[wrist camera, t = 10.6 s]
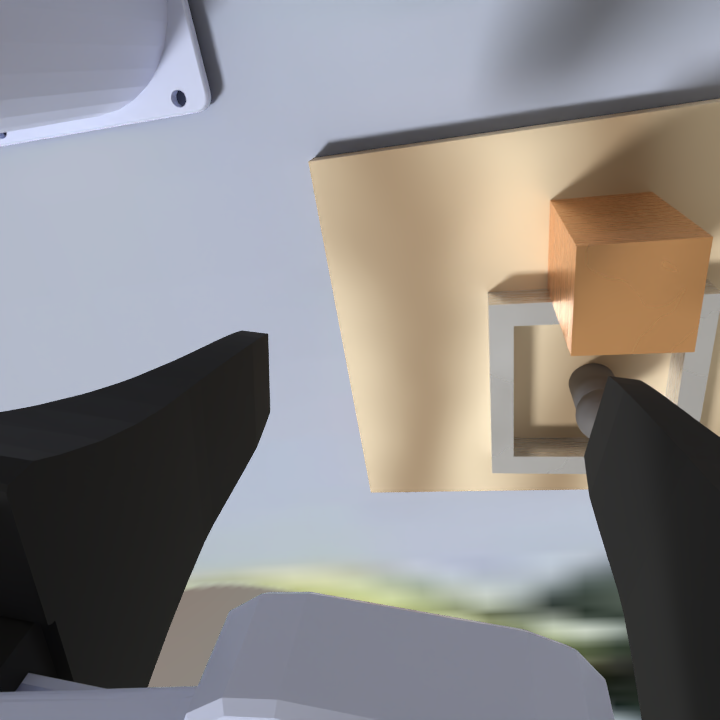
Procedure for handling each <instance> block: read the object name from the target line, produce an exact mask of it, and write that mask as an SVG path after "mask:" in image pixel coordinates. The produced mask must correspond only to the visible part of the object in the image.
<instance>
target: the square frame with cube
mask: <svg viewBox="0 0 720 720" xmlns="http://www.w3.org/2000/svg"><path fill="white" fill-rule="evenodd" d="M712 241H713V236H711V235H710V234H709V233H707V232H706V231H705V230H703V229H702V228H701V227H699V226H698V225H696V224H695V223H694V222H692V221H691V220H690V219H688V218H687V217H686V216H684V215H683V214H682V213H680V212H679V211H678V210H676V209H675V208H673V207H672V206H671V205H669V204H668V203H667V202H665V201H664V200H663V199H661V198H660V197H659V196H657V195H656V194H654V193H653V192H641V193H629V194H617V195H605V196H593V197H582V198H570V199H558V200H550V215H549V249H548V284H547V289H535V290H517V291H498V292H487V293H488V340H489V386H490V433H491V463H492V473H514V474H586V468H585V460H584V454H585V451H586V448H587V444H588V441H589V438H514V326H531V325H554V324H560V326H561V329H562V332H563V335H564V338H565V341H566V344H567V347H568V349H569V352H570V355H571V356H591V355H622V354H653V353H671V359H670V366H669V373H668V380H667V387H666V394H665V397H666V398H668V399H669V400H670V401H672V402H673V403H674V404H676V405H677V406H678V407H680V408H681V409H682V410H684V411H685V412H687V413H688V414H689V415H691V416H692V417H693V418H695V419H696V420H697V421H699V422H700V419H701V413H702V408H703V402H704V396H705V391H706V385H707V380H708V374H709V368H710V363H711V357H712V351H713V346H714V340H715V334H716V329H717V323H718V318H719V312H720V290H719V289H717V288H716V287H715V286H714V285H713V284H712V283H711V282H710V281H709V280H706V278H707V272H708V266H709V260H710V254H711V248H712Z"/></svg>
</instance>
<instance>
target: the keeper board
mask: <svg viewBox="0 0 720 720" xmlns="http://www.w3.org/2000/svg"><path fill="white" fill-rule="evenodd" d="M309 167H310V173H311V178H312V183H313V188H314V194H315V199H316V204H317V210H318V215H319V220H320V225H321V231H322V236H323V241H324V247H325V252H326V257H327V262H328V268H329V273H330V278H331V284H332V289H333V294H334V299H335V305H336V310H337V315H338V321H339V326H340V331H341V336H342V342H343V347H344V352H345V357H346V363H347V368H348V373H349V379H350V384H351V389H352V394H353V400H354V405H355V410H356V416H357V421H358V426H359V431H360V437H361V442H362V447H363V453H364V458H365V463H366V468H367V474H368V479H369V484H370V490H371V492H436V491H504V490H571V489H588V483H587V477H586V474H514V473H492V463H491V433H490V386H489V340H488V293H487V292H498V291H517V290H535V289H547V284H548V249H549V215H550V200H558V199H570V198H582V197H593V196H605V195H617V194H629V193H641V192H653V193H654V194H656V195H657V196H659V197H660V198H661V199H663V200H664V201H665V202H667V203H668V204H669V205H671V206H672V207H673V208H675V209H676V210H678V211H679V212H680V213H682V214H683V215H684V216H686V217H687V218H688V219H690V220H691V221H692V222H694V223H695V224H696V225H698V226H699V227H701V228H702V229H703V230H705V231H706V232H707V233H709V234H710V235H711V236H713V241H712V248H711V254H710V260H709V266H708V272H707V278H706V280H709V281H710V282H711V283H712V284H713V285H714V286H715V287H716V288H717V289H719V290H720V98H719V99H712V100H705V101H699V102H692V103H685V104H678V105H671V106H665V107H658V108H651V109H644V110H637V111H630V112H624V113H617V114H610V115H603V116H596V117H590V118H583V119H576V120H569V121H562V122H555V123H549V124H542V125H535V126H528V127H521V128H515V129H508V130H501V131H494V132H487V133H480V134H474V135H467V136H460V137H453V138H446V139H440V140H433V141H426V142H419V143H412V144H405V145H399V146H392V147H385V148H378V149H371V150H365V151H358V152H351V153H344V154H337V155H330V156H324V157H317V158H313V159H312V160H310V161H309ZM670 359H671V353H653V354H622V355H591V356H571V355H570V352H569V349H568V347H567V344H566V341H565V338H564V335H563V332H562V329H561V326H560V324H554V325H531V326H514V438H590V434H591V431H592V428H593V425H594V421H595V418H596V415H597V412H598V408H599V405H600V402H601V398H602V395H603V392H604V389H605V385H606V382H607V379H608V376H613V377H621V378H629V379H637V380H641V381H643V382H644V383H646V384H648V385H649V386H651V387H652V388H654V389H655V390H657V391H658V392H659V393H661V394H662V395H664V396H665V394H666V387H667V380H668V373H669V366H670ZM700 423H701V424H703V425H704V426H705V427H707V428H708V429H710V430H711V431H712V432H714V433H715V434H716V435H718V436H719V437H720V312H719V318H718V323H717V329H716V334H715V340H714V346H713V351H712V357H711V363H710V368H709V374H708V380H707V385H706V391H705V396H704V402H703V408H702V413H701V419H700Z"/></svg>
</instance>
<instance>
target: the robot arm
mask: <svg viewBox="0 0 720 720" xmlns="http://www.w3.org/2000/svg"><path fill="white" fill-rule="evenodd" d="M179 90H180V91H182V92H183V93H184V94H185V96H186V104H185V106H181V105H180V104H179V103H178V101H177V99H176V94H177V92H178V91H179ZM210 102H211V92H210V88H209V84H208V80H207V76H206V72H205V68H204V64H203V60H202V56H201V52H200V48H199V44H198V40H197V36H196V32H195V28H194V24H193V20H192V16H191V12H190V8H189V4H188V0H0V147H1V146H7V145H12V144H18V143H24V142H30V141H36V140H41V139H47V138H53V137H59V136H65V135H70V134H76V133H82V132H88V131H94V130H99V129H105V128H111V127H117V126H123V125H128V124H134V123H140V122H146V121H152V120H157V119H163V118H169V117H175V116H181V115H186V114H192V113H198V112H202V111H204V110H206V109H207V108H208V107H209V105H210ZM4 132H7V135H6V136H5V135H4V134H3V133H4ZM269 414H270V390H269V351H268V334H265V333H257V332H249V331H239V332H236V333H233V334H231V335H228V336H226V337H224V338H221V339H219V340H217V341H215V342H213V343H211V344H209V345H207V346H205V347H202V348H200V349H198V350H196V351H194V352H192V353H190V354H188V355H185V356H183V357H181V358H179V359H177V360H175V361H172V362H170V363H168V364H165V365H163V366H161V367H158V368H156V369H153V370H151V371H149V372H146V373H144V374H142V375H139V376H137V377H134V378H131V379H129V380H126V381H123V382H120V383H117V384H115V385H111V386H108V387H105V388H102V389H99V390H96V391H92V392H89V393H85V394H82V395H78V396H74V397H70V398H65V399H61V400H57V401H53V402H49V403H45V404H41V405H37V406H32V407H26V408H21V409H16V410H10V411H5V412H0V720H614V715H613V711H612V707H611V702H610V698H609V693H608V689H607V684H606V680H605V679H604V678H603V677H602V676H601V675H600V674H599V673H598V672H597V671H596V670H595V668H594V667H593V666H592V665H591V664H590V663H589V662H588V661H587V660H586V659H585V658H584V657H583V656H582V655H581V654H580V653H579V652H578V651H577V650H576V649H574V648H572V647H570V646H568V645H565V644H562V643H560V642H557V641H554V640H551V639H549V638H546V637H543V636H540V635H538V634H535V633H532V632H529V631H527V630H524V629H518V628H512V627H507V626H501V625H495V624H490V623H484V622H478V621H473V620H467V619H461V618H456V617H450V616H444V615H439V614H433V613H427V612H421V611H416V610H410V609H404V608H399V607H393V606H387V605H382V604H376V603H370V602H365V601H359V600H353V599H348V598H342V597H336V596H331V595H325V594H319V593H313V592H269V593H263V594H260V595H258V596H256V597H255V598H253V599H251V600H249V601H247V602H245V603H243V604H242V605H240V606H238V607H236V608H234V609H232V610H230V611H229V613H228V616H227V618H226V621H225V623H224V625H223V627H222V630H221V632H220V635H219V637H218V639H217V642H216V644H215V646H214V649H213V651H212V654H211V656H210V658H209V660H208V663H207V665H206V668H205V670H204V672H203V675H202V677H201V679H200V682H199V684H198V686H184V687H183V686H181V687H149V688H147V687H148V684H149V681H150V679H151V676H152V673H153V670H154V668H155V665H156V662H157V660H158V657H159V654H160V651H161V649H162V646H163V643H164V641H165V638H166V635H167V632H168V630H169V627H170V625H171V622H172V619H173V617H174V614H175V612H176V610H177V607H178V604H179V602H180V600H181V597H182V594H183V592H184V590H185V587H186V585H187V582H188V580H189V577H190V575H191V573H192V570H193V568H194V566H195V563H196V561H197V558H198V556H199V554H200V551H201V549H202V547H203V544H204V542H205V540H206V538H207V536H208V534H209V532H210V530H211V528H212V526H213V524H214V522H215V521H216V519H217V517H218V515H219V514H220V512H221V510H222V508H223V507H224V505H225V503H226V501H227V500H228V498H229V496H230V494H231V493H232V491H233V489H234V487H235V486H236V484H237V482H238V480H239V479H240V477H241V475H242V473H243V471H244V470H245V468H246V466H247V464H248V462H249V461H250V459H251V457H252V455H253V453H254V451H255V450H256V448H257V445H258V443H259V440H260V438H261V435H262V433H263V430H264V427H265V425H266V422H267V419H268V416H269ZM584 460H585V468H586V477H587V483H588V490H589V496H590V500H591V503H592V507H593V510H594V514H595V517H596V521H597V524H598V527H599V531H600V534H601V537H602V540H603V544H604V547H605V550H606V553H607V557H608V560H609V563H610V566H611V570H612V573H613V576H614V579H615V583H616V586H617V589H618V593H619V597H620V601H621V605H622V608H623V612H624V618H625V623H626V628H627V634H628V639H629V645H630V650H631V656H632V661H633V667H634V674H635V680H636V686H637V693H638V699H639V705H640V711H641V718H642V720H720V437H719V436H718V435H716V434H715V433H714V432H712V431H711V430H710V429H708V428H707V427H705V426H704V425H703V424H701V423H700V422H699V421H697V420H696V419H695V418H693V417H692V416H691V415H689V414H688V413H687V412H685V411H684V410H682V409H681V408H680V407H678V406H677V405H676V404H674V403H673V402H672V401H670V400H669V399H668V398H666V397H665V396H664V395H662V394H661V393H659V392H658V391H657V390H655V389H654V388H652V387H651V386H649V385H648V384H646V383H644V382H643V381H641V380H637V379H629V378H621V377H613V376H608V379H607V382H606V385H605V389H604V392H603V395H602V398H601V402H600V405H599V408H598V412H597V415H596V418H595V421H594V425H593V428H592V431H591V434H590V438H589V441H588V444H587V448H586V451H585V454H584Z"/></svg>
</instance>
